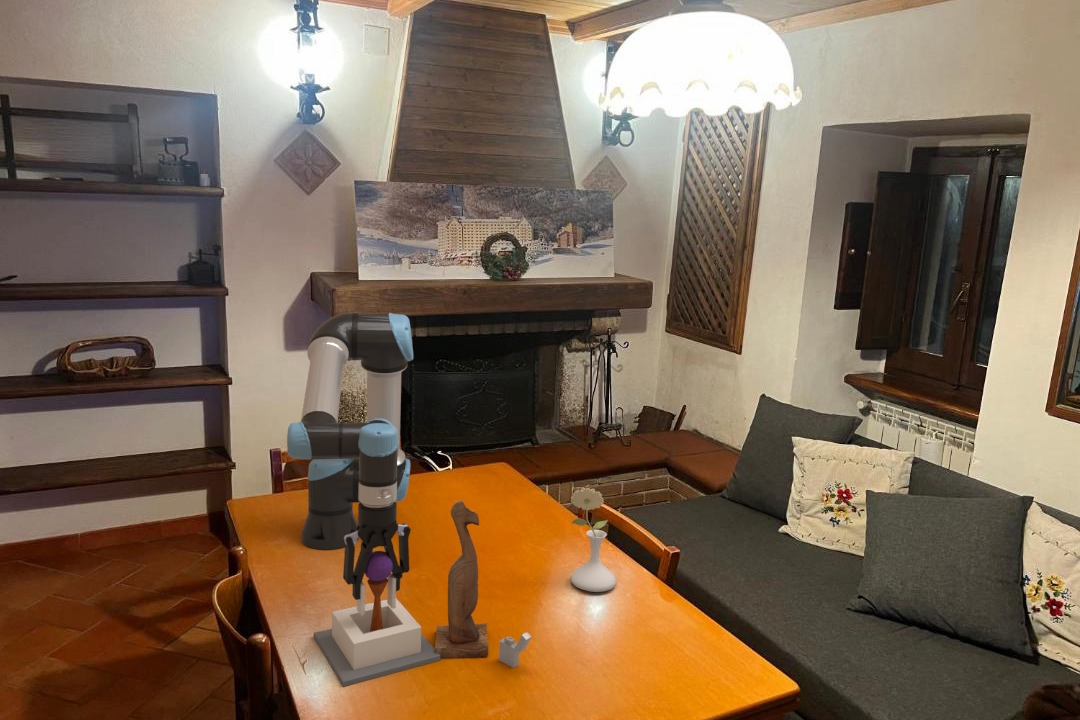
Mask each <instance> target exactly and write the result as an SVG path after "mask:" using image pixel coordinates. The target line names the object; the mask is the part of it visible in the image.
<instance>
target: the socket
mask: <svg viewBox="0 0 1080 720" xmlns="http://www.w3.org/2000/svg"><path fill="white" fill-rule="evenodd" d="M380 601H381V611H382V622H383V629H381V630H377V631H373V632H370V627H371V620H372V613H373V606H374V602H369V603H365V615H363V616H361V615H360V614H359V612H358V611H357V605H356V606H352V607H347V608H344V609H343V608H342V609H339V610H333V611H332V612H331V615H332V616H331V628H328V629H324V630H320V631H317V632H316V631H315V632H313V639H314V641H315V643H317V646H318V647H319V648H320V650H321V651H322V654H323V655H324V657H325V658H326V660H327V662H328V663H329V665H330V667H331V669H332V670H333V671H334V673H335V675H336V676H337V678H338V680H339V682H340V683H341V685H342V686H343V688H344V687H349V686H353V685H355V684H358V683H362V682H367V681H370V680H374V679H376V678H377V679H378V678H381V677H384V676H388V675H391V674H392V675H393V674H395V673H398V672H402V671H406V670H409V669H413V668H417V667H420V666H424V665H427V664H432V663H436V662H438V661H441V659H440V655H439V654H435V647H434V646H433V645H432V644H431V643H430V641H429V640H428V639H427V638H426V637H425V636H424V635H423V633H422V625H420V624H419V622H417V621H416V619H415V618H414V617H413V616H412V615H411V614H410V612H409V611H408V610H407V609H406V607H404V605H403V604H402V603H401V602H400V601H399V600H398V598H396V608H394V609H392V608H391V607H390V606H389V604H388V603H387V599H384V600H380Z"/></svg>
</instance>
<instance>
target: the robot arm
mask: <svg viewBox="0 0 1080 720" xmlns="http://www.w3.org/2000/svg"><path fill="white" fill-rule="evenodd" d="M410 323H411V322H410V318H409V317H408V316H407V315H405V314H402V313H401V314H398V313H392V312H389V313H379V312H378V313H376V312H374V313H373V312H372V313H371V312H370V313H369V312H342V313H339V314H336V315H334V316H331V317H330V318H328V319H326V320H325V321H324V322H323V323H322V324H321V325H319V326H318V327H317V328H316V330H315V331H314V333H313V334H312V336H311V337H310V339H309V342H308V346H307V352H306V353H307V358H308V360H309V367H308V374H307V381H306V386H305V393H304V399H303V405H302V412H301V418H300V421H298V422H292V423H290V424H289V426H288V429H287V433H286V435H287V437H286V448H287V449H286V450H287V455H288V456H289V458H291V459H295V460H308V461H310V462H309V464H308V471H307V472H308V474H307V480H308V481H307V482H308V483H307V484H308V485H307V487H308V490H307V491H308V495H307V497H308V501H307V502H308V503H307V506H308V507H307V508H308V510H307V511H308V513H307V515H306V519H305V521H304V523H303V527H302V530H301V542H302V544H303V545H304V546H306V547H308V548H311V549H315V550H324V551H325V550H327V551H328V550H338V549H343V548H344V558H343V570H342V578H343V580H344V582H345V583H346V584H347V585H349V586H350V585H352V589H351V590H352V598H353V599H354V600H355V601H356V606H357V611H358V612H359V614H360V615H361V616H363V615H365V604H366V584H365V583H364V582H363V579H364V575H365V570H366V567H367V563H368V560H369V557H370V554H371V553H372V552H374V549H377V548H378V547H382V548H383V549H384V552H386V553H387V554H388V556H389V557H390V559H391V561H392V563H393V569H392V572H391V574H390V576H388V577H387V579H388V583H387V597H386V598H387V599H386V600H387V603H388V604H389V606H390V607H391V608H392V609H394V608H396V599H397V592H398V591H400V589H401V579H402V578H403V574H405V573H406V574H407V573H409V572H410V550H409V539H410V538H409V537H410V534H411V528H410V527H409V526H408V524H406V523H402V524H398V522H397V511H398V509H397V507H398V506H397V504H398V503H397V502H402V501H403V500H405V498H406V496H407V493H408V488H409V483H410V474H411V460H410V459H408V458H406V454H405V452H404V451H403V450H402V449H401V448H400V447H401V445H400V444H401V443H400V442H401V441H400V439H401V410H402V409H401V402H402V399H401V398H402V372H403V371H405V370H406V369H407V368H408V362H411V361H413V360H414V349H413V347H414V346H413V338H412V329H411V324H410ZM348 360H353V361H354V360H357V361H358V360H360V366H361V368H362V369H363V370H364V371H366V422H338V420H339V414H340V413H339V412H340V403H341V402H340V401H341V394H342V393H341V391H342V380H343V373H344V366H345V365H346V363H347V362H348ZM354 503H358V505H357V507H358V509H357V510H358V515H357V518H358V519H356V516H355V513H354V509H353V508H354V507H353V505H354ZM357 520H358V522H357ZM396 533H397V534H398V536H397V537H398V555H399V556H398V557H399V559H398V558H397V556H396V553H395V549H394V544H393V541H392V539H393V537H394V536H395V534H396ZM359 539H360V540H361V543H360V550H359V552H358V553H359V554H358V556H357V559H356V563H355V554H356V553H355V552H356V546H355V545H357V541H358V540H359ZM398 560H399V561H398ZM398 562H399V563H398Z"/></svg>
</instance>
